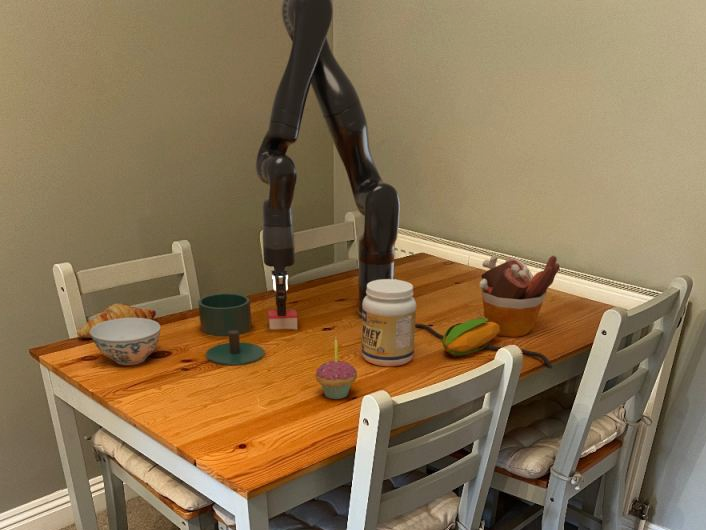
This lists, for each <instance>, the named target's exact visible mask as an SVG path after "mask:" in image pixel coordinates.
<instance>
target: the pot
mask: <svg viewBox="0 0 706 530" xmlns="http://www.w3.org/2000/svg"><path fill="white" fill-rule="evenodd" d="M197 304H198V312H199V322H200V329H201V332H202V333H203V334H205V335H209V336H212V337H225V338H226V337H229V335H228V332H229V331H231V330H237V331H239V336H240V335H244V334H246V333H248V332H250V331H251V329H252V327H253V326H252V325H253V324H252V314H251V312H252V311H251V300H250V297H248V296H246V295H243V294H239V293H226V292H224V293H214V294H210V295H205V296H202V297H201V298H200V299H199V300H198V301H197Z"/></svg>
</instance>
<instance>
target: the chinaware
mask: <svg viewBox="0 0 706 530" xmlns="http://www.w3.org/2000/svg"><path fill="white" fill-rule="evenodd" d="M90 334H91V336H92V338H91V340H92V341H93V343H94V344H95V347H96V348H97V349H98V350H99V351H100V352H101V353H102V354H103V356H106V358H108V359H110V360H112V361H114V362H115V363H116V364H118V365H124V366H130V365H131V366H132V365H137V364H141V363H143V362H144V361H146V359H147V358H148V357H149V356H151V354H152V353H153V352H154V351H155V349H156V348H157V345H158V344H159V341H160V336H161V324H160V323H159V322H158V321H155V320H154V319H153V320H150V319H144V318H120V319H114V320H109V321H105V322H102V323H99V324H97V325H95V326H94V327H93V328H92V329H91V330H90Z"/></svg>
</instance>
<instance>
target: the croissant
mask: <svg viewBox="0 0 706 530" xmlns="http://www.w3.org/2000/svg"><path fill="white" fill-rule="evenodd" d="M156 315H157V311H156V310H154V309H152V308H150V309H147V308H138V307H136V306H130V305H128V304H126V303H116V302H115V303H114V304H110V305H109V306H108V307H107V308H105V309H104V310H103V311H102V312H99V313H97V314H96V315H95V316H94V318H92V319H91V320H88V321H86V322H85V323H84V324H83V326H82V327H80V328H77V330H76V334H77V335H78V337H80V338H85V339H92V336H91V334H90V330H91V329H92V328H93V327H94V326H95V325H97V324H99V323H102V322H105V321H109V320H114V319H120V318H144V319H150V320H153V321H154V319H155V317H156Z"/></svg>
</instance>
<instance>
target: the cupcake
mask: <svg viewBox="0 0 706 530" xmlns="http://www.w3.org/2000/svg"><path fill="white" fill-rule="evenodd" d="M334 337H335V339H334V341H333V342H334V345H333V346H334V360H330V361H325V362H323V363H322V364H321V365H320V366H319V367H317V369H315V370H316V371H315V377H316V378H315V379H316V382H317V383H318V384H320V386H321V388H322V391H323V394H324V396H325V397H326V398H328V399H330V400H331V399H332V400H342V399H345V398H346V397H347V396H348V395H349V391H350V388H351V385H352V384H353V383H355V382H356V380H357V379H358V371H357V369H356V368H355V367H354V366H353V365H352V364H351V363H349V362H346V361H343V360H339V345H338V343H339V341H338V340H337V335H335V336H334Z"/></svg>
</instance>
